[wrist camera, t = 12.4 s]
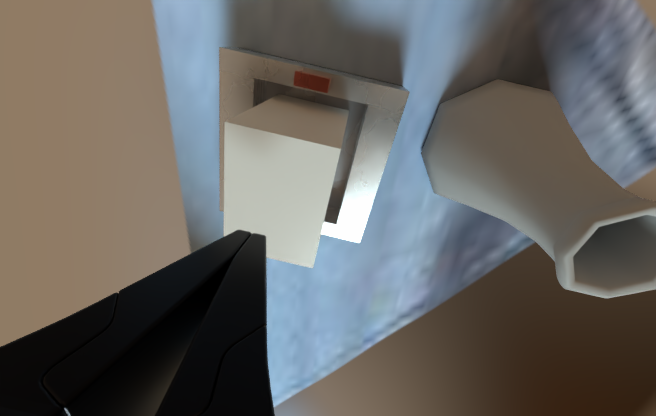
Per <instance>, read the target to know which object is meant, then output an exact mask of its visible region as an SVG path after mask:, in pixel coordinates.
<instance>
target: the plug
mask: <svg viewBox="0 0 656 416" xmlns="http://www.w3.org/2000/svg"><path fill="white" fill-rule="evenodd" d="M348 114H349V110H345V109H340V108H336V107H332V106H328V105H323V104H319V103H315V102H311V101H306V100H302V99H298V98H294V97H289V96H285V95H281V94H278V95H276V96H274V97H272V98H271V99H269V100H267V101H265V102H263V103H261V104H259V105H257V106H255V107H253V108H251V109H249V110H247V111H245V112H243V113H241V114H239V115H237V116H235V117H233V118H231V119H229V120H227V121H225V142H224V236H226V235H228V234H230V233H232V232H234V231H236V230H244V231H249V232H251V233H257V234H262V235H265V236H266V258H271V259H275V260H279V261H284V262H288V263H292V264H297V265H301V266H305V267H310V268H313V265H314V261H315V257H316V253H317V248H318V244H319V240H320V236H321V232H322V227H323V223H324V219H325V215H326V210H327V206H328V202H329V198H330V193H331V189H332V185H333V181H334V177H335V172H336V168H337V164H338V160H339V155H340V151H341V147H342V142H343V137H344V133H345V128H346V123H347V119H348Z"/></svg>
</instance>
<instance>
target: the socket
mask: <svg viewBox="0 0 656 416" xmlns="http://www.w3.org/2000/svg"><path fill="white" fill-rule="evenodd" d="M219 71H220V211H223V212H224V142H225V121H227V120H229V119H231V118H233V117H235V116H237V115H239V114H241V113H243V112H245V111H247V110H249V109H251V108H253V107H255V106H257V105H259V104H261V103H263V102H265V101H267V100H269V99H271V98H272V97H274V96H276V95H278V94H281V95H285V96H289V97H294V98H298V99H302V100H306V101H311V102H315V103H319V104H323V105H328V106H332V107H336V108H340V109H345V110H349V114H348V119H347V123H346V128H345V133H344V137H343V142H342V147H341V151H340V155H339V160H338V164H337V168H336V172H335V177H334V181H333V185H332V189H331V193H330V198H329V202H328V206H327V210H326V215H325V219H324V223H323V227H322V232H321V234H323V235H327V236H332V237H336V238H340V239H345V240H349V241H353V242H358V243H360V240H361V237H362V234H363V231H364V228H365V225H366V222H367V219H368V216H369V213H370V210H371V207H372V204H373V201H374V198H375V195H376V192H377V189H378V186H379V183H380V180H381V177H382V174H383V171H384V168H385V165H386V162H387V159H388V156H389V153H390V150H391V147H392V144H393V141H394V138H395V135H396V132H397V129H398V126H399V123H400V120H401V117H402V114H403V111H404V108H405V105H406V102H407V99H408V96H409V93H410V92H409V91H408V90H407V89H405V88H404V87H403V86H400V85H395V84H391V83H387V82H383V81H378V80H374V79H370V78H366V77H361V76H357V75H353V74H349V73H345V72H340V71H336V70H332V69H328V68H323V67H319V66H315V65H311V64H306V63H302V62H298V61H294V60H289V59H285V58H281V57H277V56H272V55H268V54H264V53H260V52H255V51H251V50H247V49H243V48H228V47H219Z"/></svg>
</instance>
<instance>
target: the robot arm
mask: <svg viewBox="0 0 656 416" xmlns="http://www.w3.org/2000/svg"><path fill="white" fill-rule="evenodd" d="M266 326H267V283H266V236H265V235H262V234H257V233H251V232H249V231H244V230H236V231H234V232H232V233H230V234H228V235H226V236H224V237H222V238H221V239H219V240H217V241H215V242H213V243H211V244H209V245H207V246H205V247H203V248H201V249H199V250H197V251H195V252H193V253H192V254H190V255H188V256H186V257H184V258H182V259H180V260H178V261H176V262H174V263H172V264H170V265H168V266H166V267H165V268H162V269H161V270H159V271H157V272H155V273H153V274H151V275H149V276H147V277H145V278H143V279H141V280H139V281H137V282H135V283H133V284H132V285H130V286H128V287H126V288H124V289H122V290H120V291H119V294H118V293H114V294H112V295H110V296H108V297H106V298H104V299H102V300H101V301H99V302H96V303H94V304H92V305H90V306H88V307H87V308H84V309H82V310H80V311H78V312H76V313H74V314H72V315H70V316H68V317H66V318H64V319H62V320H59V321H57V322H55V323H53V324H51V325H49V326H46V327H44V328H42V329H40V330H37V331H35V332H33V333H31V334H29V335H26V336H24V337H22V338H19V339H17V340H15V341H13V342H11V343H8V344H6V345H4V346H1V347H0V416H275V414H274V407H273V401H272V394H271V387H270V378H269V370H268V357H267V328H266Z"/></svg>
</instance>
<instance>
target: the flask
mask: <svg viewBox="0 0 656 416" xmlns="http://www.w3.org/2000/svg"><path fill="white" fill-rule="evenodd" d="M421 155H422V158H423V161H424V164H425V167H426V170H427V173H428V176H429V179H430V182H431V185H432V189H433V192H434V193H435V194H438V195H440V196H443V197H445V198H448V199H451V200H454V201H457V202H460V203H462V204H465V205H468V206H470V207H473V208H475V209H478V210H480V211H482V212H485V213H487V214H490V215H492V216H494V217H497V218H499V219H502V220H504V221H506V222H507V223H509V224H510V225H512V226H513V227H515V228H516V229H518V230H519V231H521V232H522V233H524V234H525V235H527V236H528V237H530V238H531V239H533V240H534V241H536V242H537V243H538V244H539V245H540V246H541V247H542V248H543V249H544V250H545V251H546V252H547V253H548V255H549V256H550V257H551V258H552V259H553V260H554V261H555V265H556V273H557V278H558V280H559V282H560V284H561V285H562V286H563V287H564V288H565V289H567V290H572V291H576V292H580V293H585V294H589V295H594V296H598V297H602V298H611V297H616V296H622V295H628V294H633V293H638V292H644V291H649V290H654V289H656V201H652V200H647V199H642V198H640V197H638V196H636V195H634V194H633V193H631V192H629V191H627V190H625V189H623V188H622V187H621V186H620V185H619V184H618V183H616V182H615V181H614V180H613V179H612V178H611V177H610V176H609V175H607V174H606V173H605V172H604V171H603V170H602V169H601V168H599V167H598V166H597V165H596V164H595V163H594V162H593V161H592V160H591V159H590V157H589V155H588V154H587V152H586V151H585V149H584V147H583V146H582V144H581V143H580V141H579V139H578V138H577V136H576V135H575V133H574V131H573V130H572V128H571V127H570V125H569V123H568V121H567V119H566V117H565V115H564V113H563V111H562V109H561V107H560V105H559V103H558V101H557V100H556V98H555V96H554V95H553V93H552V92H550V91H546V90H542V89H538V88H534V87H529V86H525V85H521V84H517V83H512V82H508V81H504V80H500V79H496V80H494V81H492V82H489V83H487V84H485V85H482V86H480V87H478V88H475V89H473V90H471V91H468V92H466V93H464V94H462V95H459V96H457V97H455V98H452V99H450V100H448V101H445V102H443V103H441V104H440V106H439V109H438V111H437V114H436V116H435V119H434V121H433V124H432V127H431V129H430V132H429V134H428V137H427V139H426V142H425V144H424V147H423V149H422V152H421Z"/></svg>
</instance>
